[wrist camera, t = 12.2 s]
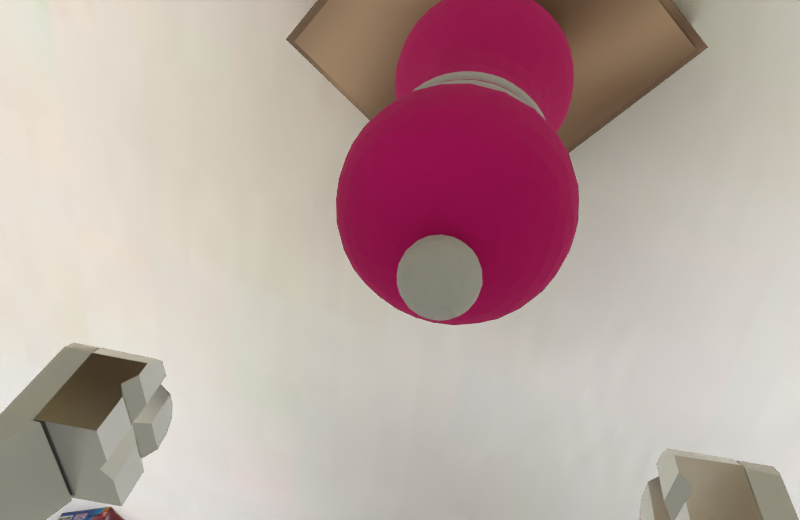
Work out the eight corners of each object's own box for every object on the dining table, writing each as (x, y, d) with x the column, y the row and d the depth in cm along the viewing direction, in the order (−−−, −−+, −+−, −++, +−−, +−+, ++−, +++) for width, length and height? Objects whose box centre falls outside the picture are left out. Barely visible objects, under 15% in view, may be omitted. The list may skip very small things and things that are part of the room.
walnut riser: (690, 27, 30) (709, 49, 27) (480, 193, 37) (475, 226, 34) (502, -216, 26) (498, -224, 23) (307, 22, 33) (283, 41, 30)
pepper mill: (436, -47, 27) (283, 64, 10) (594, 2, 27) (710, 198, 10) (396, 107, 31) (238, 375, 14) (533, 150, 30) (542, 472, 14)
